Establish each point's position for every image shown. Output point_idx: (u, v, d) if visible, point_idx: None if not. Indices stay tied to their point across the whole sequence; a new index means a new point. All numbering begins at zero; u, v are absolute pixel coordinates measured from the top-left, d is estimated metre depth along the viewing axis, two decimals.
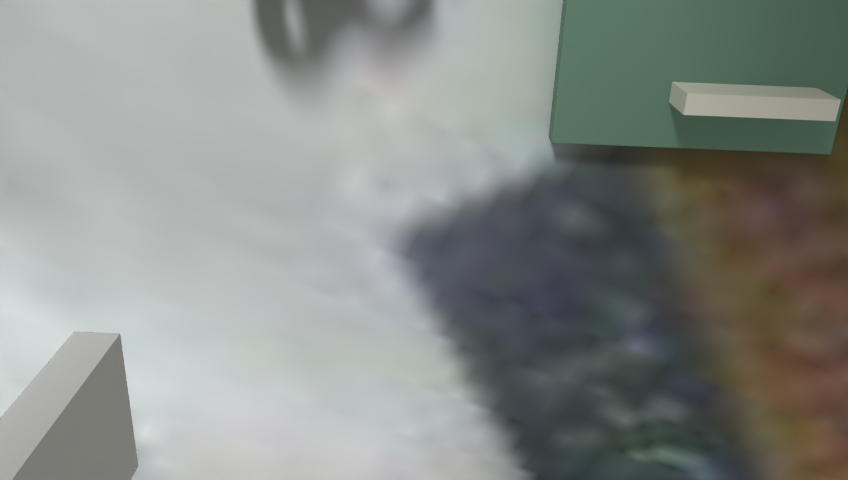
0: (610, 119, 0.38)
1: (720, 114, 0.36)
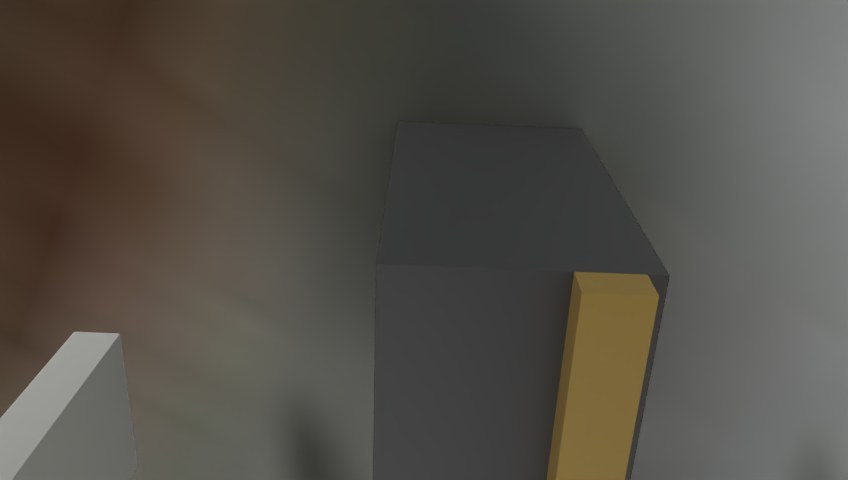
0: None
1: None
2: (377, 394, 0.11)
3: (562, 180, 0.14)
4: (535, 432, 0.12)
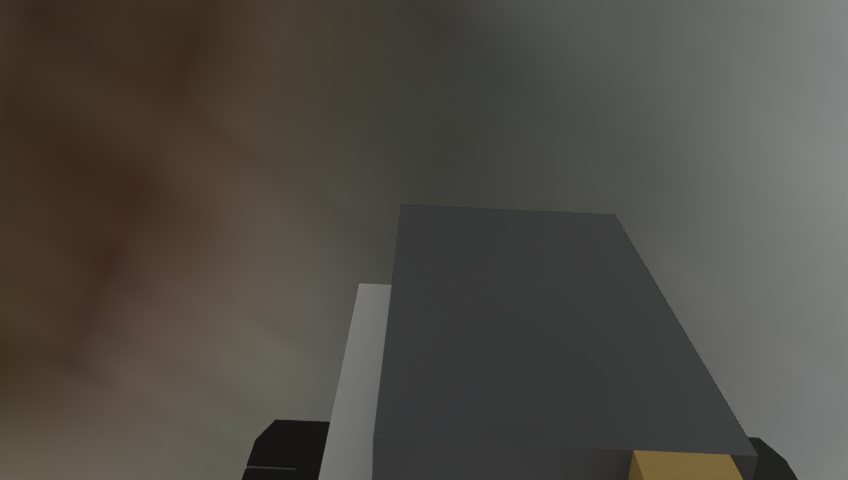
0: None
1: None
2: None
3: (602, 293, 0.11)
4: None
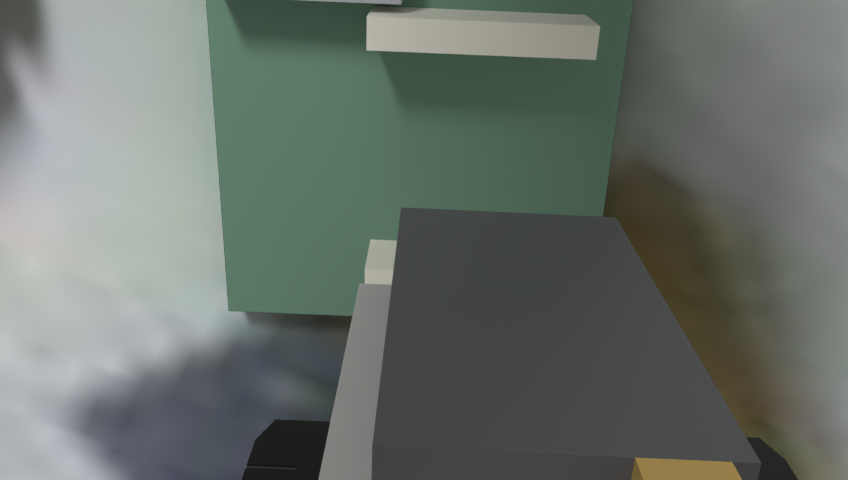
0: (298, 283, 0.30)
1: None
2: None
3: (602, 298, 0.11)
4: None
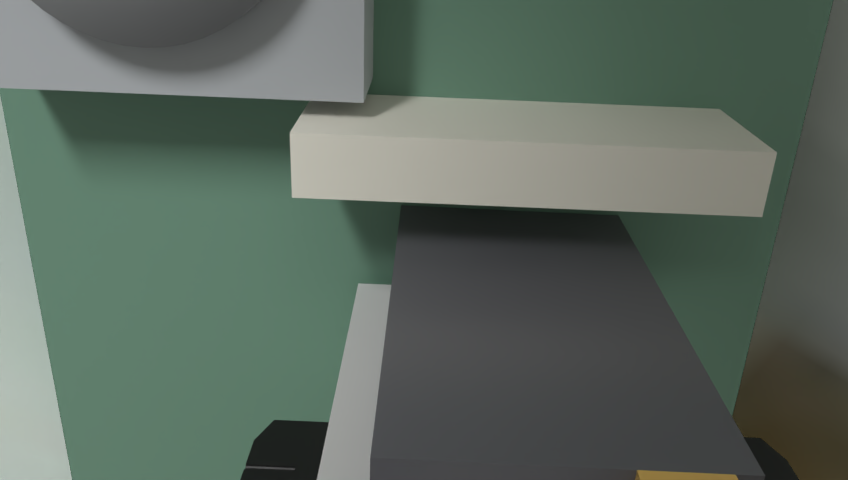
0: None
1: None
2: None
3: (605, 301, 0.11)
4: None
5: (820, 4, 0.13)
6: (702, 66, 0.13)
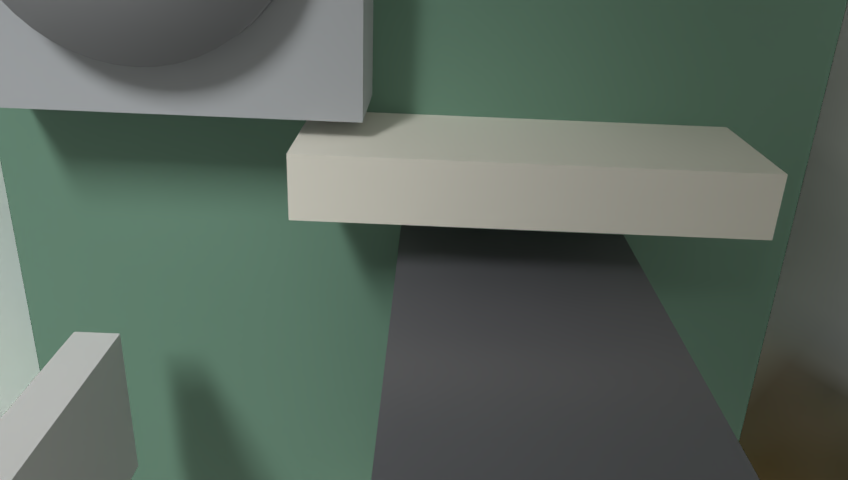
0: None
1: None
2: None
3: (611, 327, 0.11)
4: None
5: (830, 21, 0.12)
6: (709, 83, 0.13)
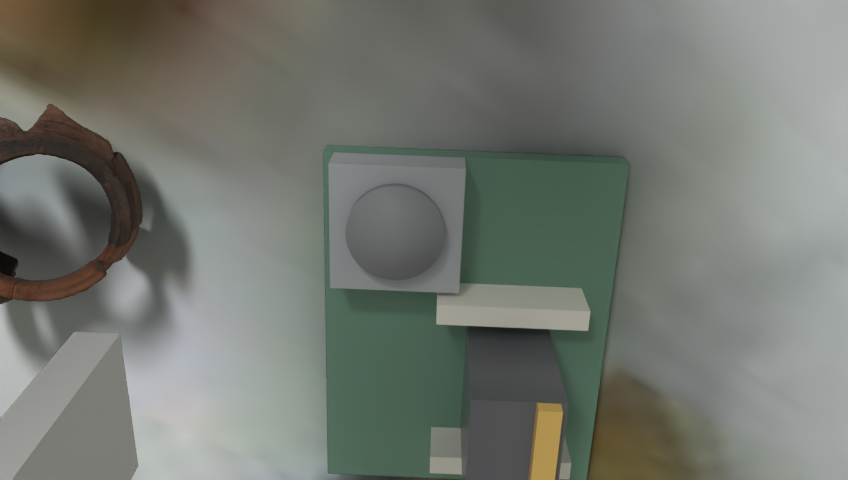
0: (378, 455, 0.42)
1: None
2: (469, 443, 0.33)
3: (536, 358, 0.35)
4: (524, 457, 0.33)
5: (613, 254, 0.37)
6: (574, 274, 0.37)
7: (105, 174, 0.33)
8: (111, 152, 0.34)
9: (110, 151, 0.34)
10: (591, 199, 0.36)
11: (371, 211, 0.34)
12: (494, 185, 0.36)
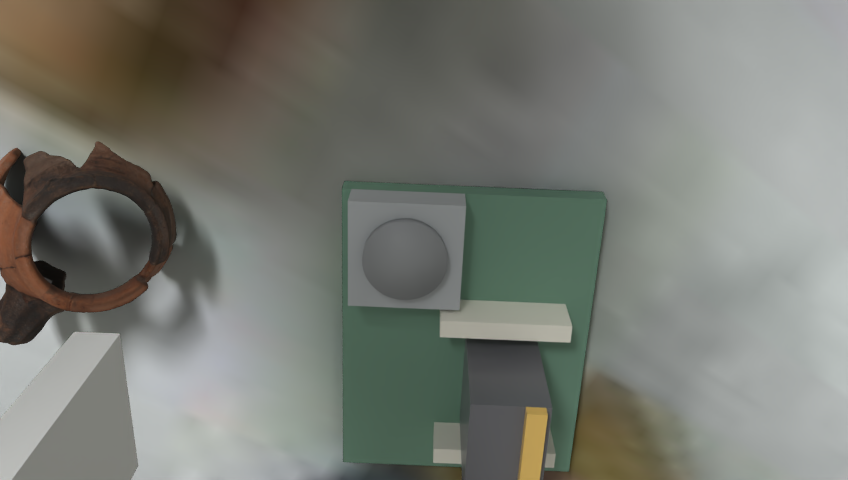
0: (388, 446, 0.47)
1: None
2: (468, 440, 0.39)
3: (526, 366, 0.41)
4: (515, 451, 0.39)
5: (593, 275, 0.43)
6: (559, 292, 0.43)
7: (147, 203, 0.38)
8: (150, 182, 0.40)
9: (150, 181, 0.40)
10: (574, 229, 0.42)
11: (384, 242, 0.39)
12: (490, 217, 0.41)
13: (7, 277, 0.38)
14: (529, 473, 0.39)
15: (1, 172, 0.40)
